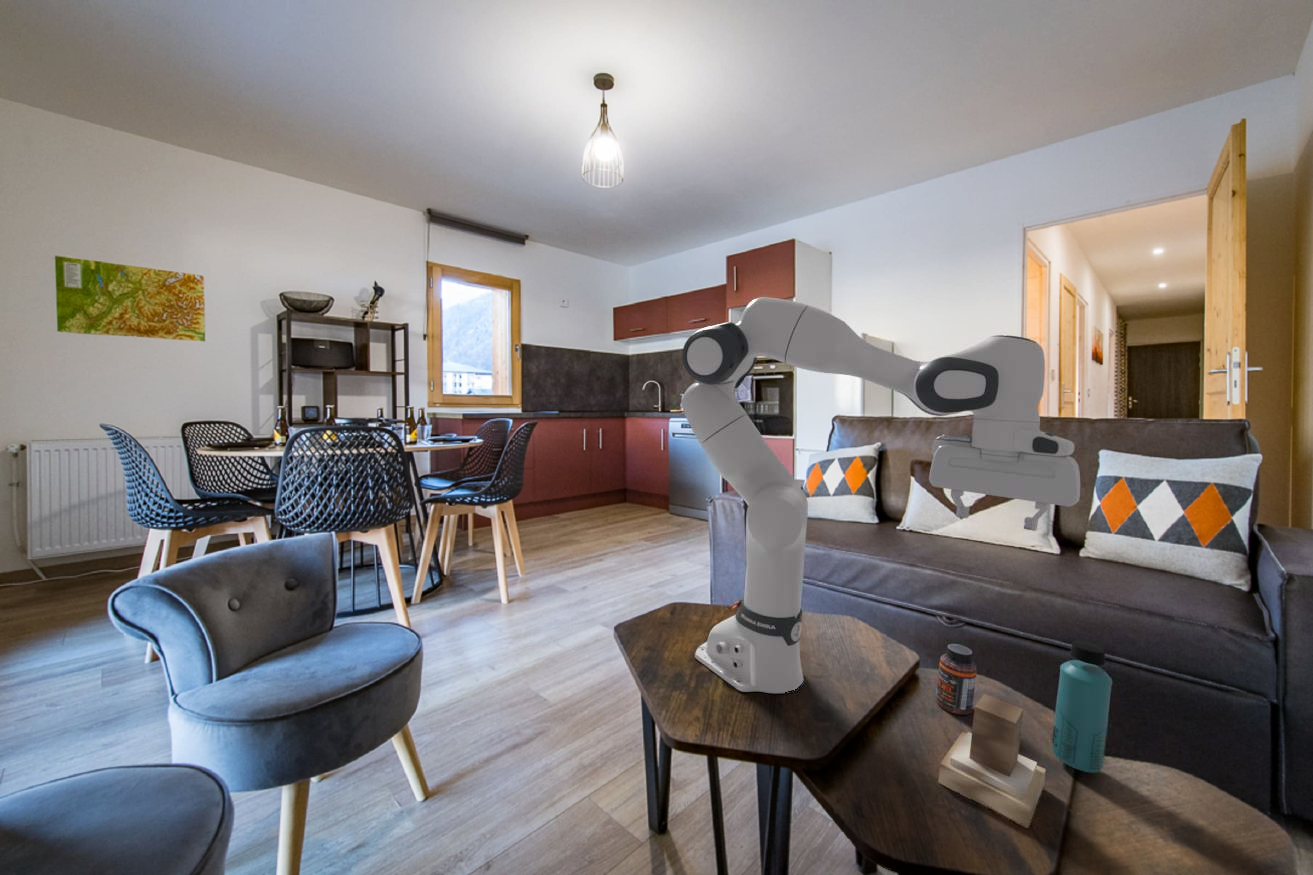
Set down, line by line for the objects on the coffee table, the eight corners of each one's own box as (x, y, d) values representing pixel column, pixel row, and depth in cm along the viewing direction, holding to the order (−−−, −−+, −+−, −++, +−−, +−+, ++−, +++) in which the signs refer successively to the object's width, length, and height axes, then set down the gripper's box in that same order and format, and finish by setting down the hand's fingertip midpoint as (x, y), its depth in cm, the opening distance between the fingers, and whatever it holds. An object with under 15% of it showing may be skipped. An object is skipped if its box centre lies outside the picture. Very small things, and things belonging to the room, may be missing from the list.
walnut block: (969, 757, 76) (974, 706, 75) (978, 743, 79) (983, 693, 78) (1009, 777, 72) (1015, 723, 71) (1017, 760, 75) (1023, 709, 75)
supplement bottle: (928, 700, 97) (933, 643, 96) (949, 694, 99) (954, 638, 98) (958, 719, 91) (964, 658, 90) (979, 712, 94) (985, 653, 93)
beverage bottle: (1112, 786, 77) (1129, 658, 75) (1062, 778, 78) (1077, 652, 76) (1085, 757, 83) (1100, 638, 81) (1039, 749, 84) (1053, 632, 83)
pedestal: (938, 782, 76) (940, 756, 75) (960, 749, 83) (962, 725, 83) (1028, 829, 68) (1031, 801, 68) (1043, 788, 76) (1046, 762, 75)
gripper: (927, 433, 87) (920, 512, 88) (1082, 445, 73) (1070, 540, 74) (939, 432, 92) (932, 508, 93) (1087, 444, 77) (1076, 534, 78)
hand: (994, 523), depth 83 cm, fingers open, 8 cm apart
